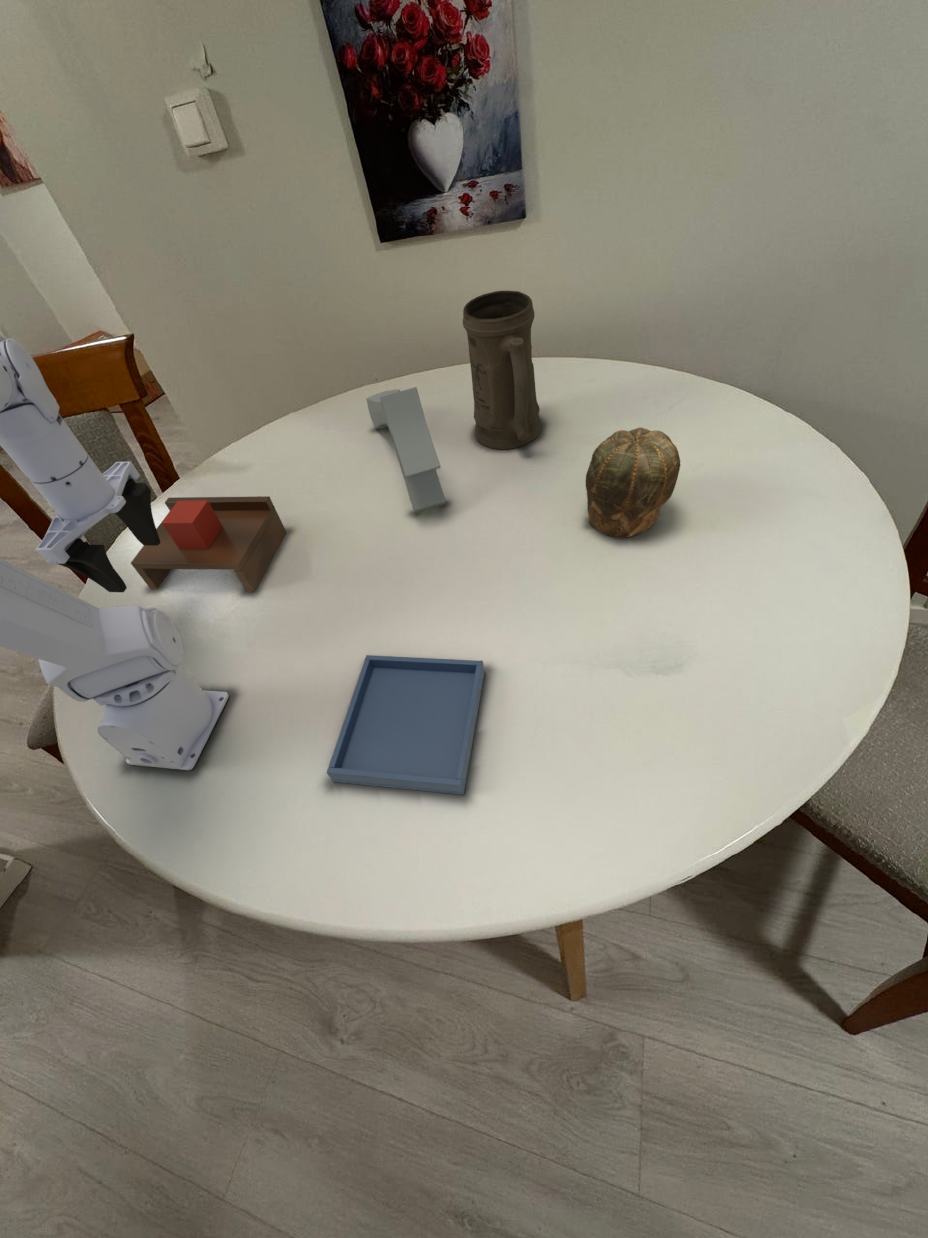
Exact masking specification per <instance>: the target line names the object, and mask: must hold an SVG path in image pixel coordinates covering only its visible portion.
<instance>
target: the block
mask: <svg viewBox="0 0 928 1238" xmlns="http://www.w3.org/2000/svg"><path fill="white" fill-rule="evenodd" d="M167 514H168V515H167ZM167 514H166V515H165V517H164V518H165V519H164V518H163V519H164V520H162V521H161V522H162V524H163V526H164V527H165V529H166V530H167V532H168V533H169V535H170V536H171V538H172V539H173V541H174V542H175V544H176V545H177V547H178V548H179V549H209V548H210V546H211V545H212V543H213V541H214V540H215V538H216V537H217V535H218V534H219V532H220V531H221V529H222V528H223V526H222V524H221V523H220V521H219V519H218V517H217V516H216V514H215V512H214V510H213V509H212V507H211V505H210V504H209V502H208V501H177V503H176V504H175V505H174V507H173V508H172V509H171V511H170V510H169V512H168V513H167Z"/></svg>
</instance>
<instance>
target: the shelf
mask: <svg viewBox="0 0 928 1238" xmlns="http://www.w3.org/2000/svg"><path fill="white" fill-rule="evenodd" d="M177 501H208V502H209V504H210V505H211V507H212V509H213V510H214V512H215V514H216V516H217V517H218V519H219V521H220V523H221V524H222V526H223V528H222V529H221V531H220V532H219V534H218V535H217V537H216V538H215V540H214V541H213V543H212V545H211V546H210V548H209V549H179V548H178V547H177V545H176V544H175V542H174V541H173V539H172V538H171V536H170V535H169V533H168V532H167V530H166V529H165V527H164V526H163V524H162V521H163V520H164V519H165V517H164V518H163V520H162V521H161V522H160V523H159V525H158V526H156V530H157V533H158V536H159V539H160V544H159V545H158V546H148V545H142V547H141V548H140V549H139V551H138V552H137V554H136V555H135V556H134V558H133V559H132V560H131V561H130V565H131V566H132V567H133V568H134V570H135V571H136V572H137V574H138V575H139V576H140V578H141V579H142V580H143V581H144V583H145V584H146V585H147V587H148V588H149V589H150V590H159V588H160V587H161V585H162V584H163V583H164V581H166V579H167V577H168V575H170V572H171V571H172V570H205V571H207V570H209V571H210V570H213V571H214V570H215V571H216V570H217V571H218V570H219V571H221V570H222V571H234V573H235V575H236V576H237V578H238V580H239V581H240V583H241V585H242V587H243V588H244V590H245V592H249V593H251V592H252V593H255V592H256V590H257V588H258V586H259V585H260V583H261V581H262V579H263V576H264V575H265V574H266V571H267V569H268V568H269V566H270V564H271V562H272V560H273V558H274V556H275V555H276V552H277V551H278V549H279V547H280V545H281V544H282V542H283V540H284V538H285V536H286V534H287V530H286V527H285V526H284V523H283V522H282V520H281V518H280V516H279V513H278V511H277V509H276V507H275V505H274V503H273V501H272V499H271V497H270V496H269V495H268V496H262V495H261V496H193V497H190V496H188V497H187V496H186V497H184V496H183V497H182V496H181V497H177V496H175V497H168V498H166V500H165V501H164V504H165V506H166V507H167V509H168V511H169V512H170V511H171V509H172V508H173V507H174V505H175V504H176V503H177ZM167 515H168V513H167V514H166V516H167Z"/></svg>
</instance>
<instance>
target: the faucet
mask: <svg viewBox="0 0 928 1238" xmlns="http://www.w3.org/2000/svg"><path fill="white" fill-rule="evenodd" d="M365 399H366V405H367V409H368V412H369V416H370V419H371V422H372V424H373V427H374V429H383V428H384V429H385V428H388V430H389V434H390V437H391V440H392V443H393V447H394V450H395V454H396V458H397V461H398V465H399V468H400V470H401V474H402V476H403V477H402V478H403V480H404V485H405V487H406V491H407V493H408V497H409V500H410V504H411V508H412V511H413V514H414V515H415V514H419V513H422V512H425V511H428V510H431V509H435V508H439V507H442V506H444V505H445V503H446V501H447V500H446V497H445V493H444V491H443V488H442V484H441V481H440V477H439V475H438V471H437V470H438V469H441V463H440V460H439V456H438V454H437V452H436V447H435V445H434V442H433V439H432V436H431V433H430V430H429V426H428V424H427V423H428V422H427V421H426V416H425V414H424V413H425V412H424V409H423V406H422V402H421V398H420V395H419V391H418V388H417V386H414V387H410V388H407V389H403V390H401V389H400V388H397V389H390V390H384V391H381V392H378V393H375V394H373V395H370V396H368V397H366V398H365Z"/></svg>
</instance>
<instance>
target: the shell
mask: <svg viewBox="0 0 928 1238" xmlns="http://www.w3.org/2000/svg"><path fill="white" fill-rule="evenodd" d="M680 469H681V457H680V454H679V450H678V448H677V446H676V445H675V444H674V443H673V441H672V439H671V438H670V436H669V435H667V434H666V433H665V432H664V431H661V430H649V429H647V428H645V427H637V428H634V429H631V430H622V429H620V430H617V431H615V432H613V433H612V434H611V435H609V436H608V437H606V439H605V440H603V441H601V442H600V443H599V445H598V446H597V447H596V448H595V449H594V451H593V452H592V455H591V460H590V462H589V465H588V468H587V471H586V474H585V490H586V498H587V499H586V500H587V501H586V503H587V505H586V506H587V514H588V515H587V516H588V521H589V524H590V526H591V527H593V528H594V529H595V530H597V531H599V532H601V533H602V534H604V535H607V536H609V537H612V538H613V537H614V538H617V539H619V538H621V539H622V538H623V539H624V538H629V537H632V536H636V535H640V534H644V532H646V531H648V530H649V529H650V528H651V527H652V526H653V525H654V524H655V522H656V521H657V519H658V517H659V514H660V511H661V508H662V506H663V505H664V504H665V503H667V502H668V500H670V498H671V497H672V496H673V494H674V490H675V488H676V485H677V481H678V479H679V478H678V477H679V474H680Z"/></svg>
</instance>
